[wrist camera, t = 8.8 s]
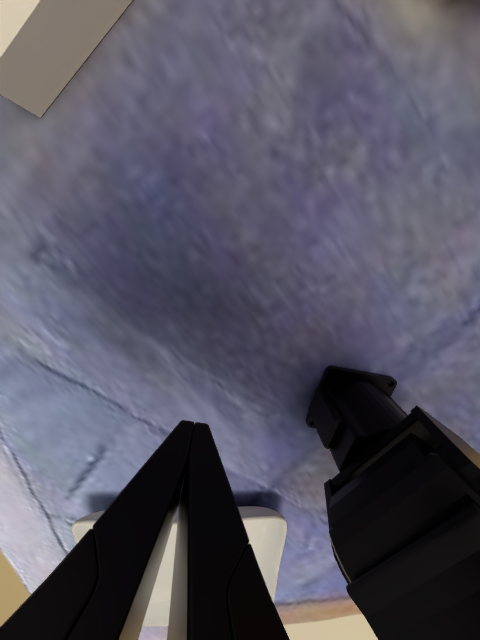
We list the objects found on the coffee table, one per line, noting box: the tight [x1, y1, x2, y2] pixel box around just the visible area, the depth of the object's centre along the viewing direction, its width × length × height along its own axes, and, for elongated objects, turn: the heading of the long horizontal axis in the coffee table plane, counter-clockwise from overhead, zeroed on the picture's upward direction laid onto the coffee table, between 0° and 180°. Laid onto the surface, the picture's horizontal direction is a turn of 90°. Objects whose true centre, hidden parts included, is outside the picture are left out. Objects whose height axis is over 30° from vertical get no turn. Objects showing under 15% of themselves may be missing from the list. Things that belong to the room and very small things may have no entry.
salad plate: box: [72, 506, 287, 626], centre depth 28 cm, size 21×21×3 cm
